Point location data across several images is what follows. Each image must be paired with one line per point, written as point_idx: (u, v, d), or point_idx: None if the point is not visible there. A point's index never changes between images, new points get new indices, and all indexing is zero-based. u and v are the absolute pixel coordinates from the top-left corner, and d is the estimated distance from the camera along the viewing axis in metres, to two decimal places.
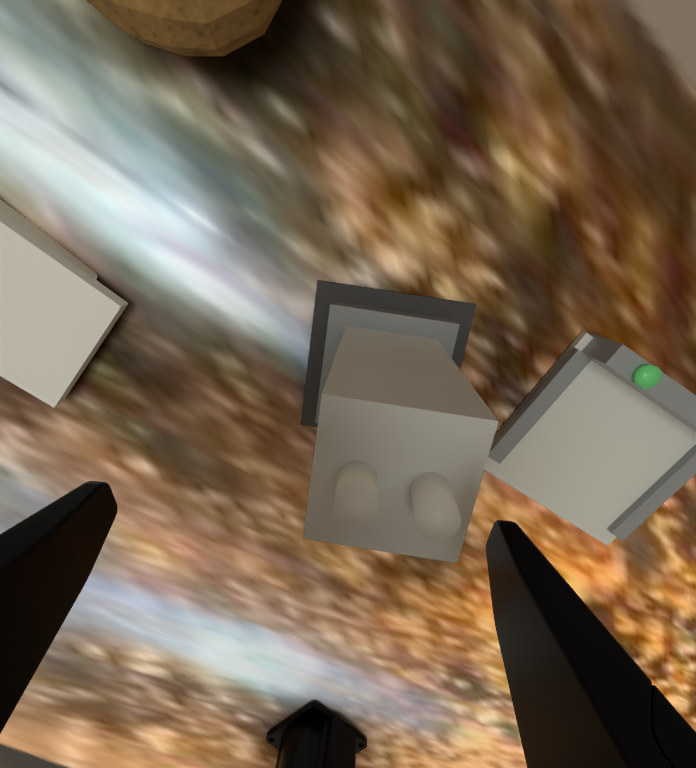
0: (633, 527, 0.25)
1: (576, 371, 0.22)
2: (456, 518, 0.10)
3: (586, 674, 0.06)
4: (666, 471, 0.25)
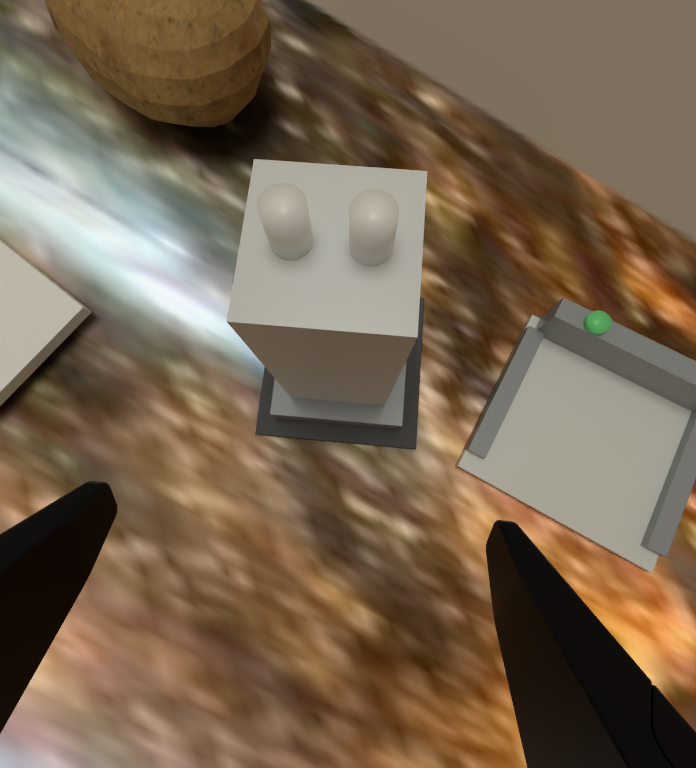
0: (670, 533, 0.20)
1: (534, 346, 0.22)
2: (393, 205, 0.09)
3: (586, 674, 0.06)
4: (673, 457, 0.21)
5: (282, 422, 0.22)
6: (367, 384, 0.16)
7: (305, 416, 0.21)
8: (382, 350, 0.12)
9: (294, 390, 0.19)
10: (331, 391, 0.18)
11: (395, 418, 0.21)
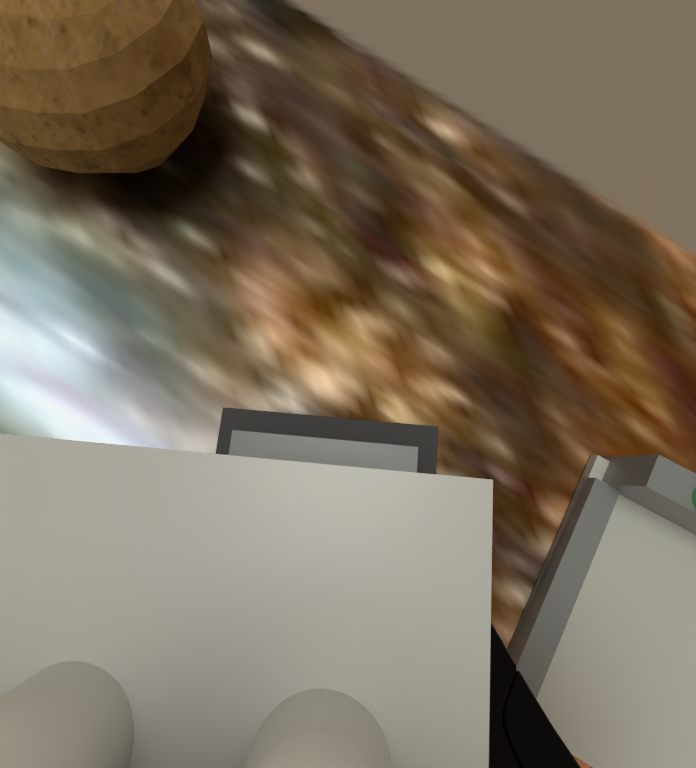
0: None
1: (605, 512, 0.15)
2: None
3: None
4: None
5: None
6: None
7: None
8: None
9: None
10: None
11: None
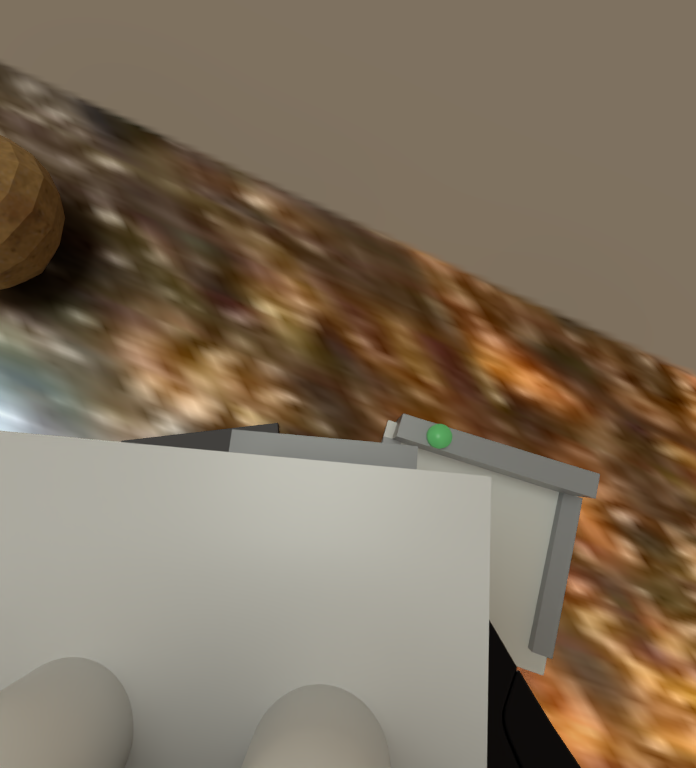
0: (552, 633, 0.20)
1: None
2: None
3: None
4: (547, 545, 0.21)
5: None
6: None
7: None
8: None
9: None
10: None
11: None
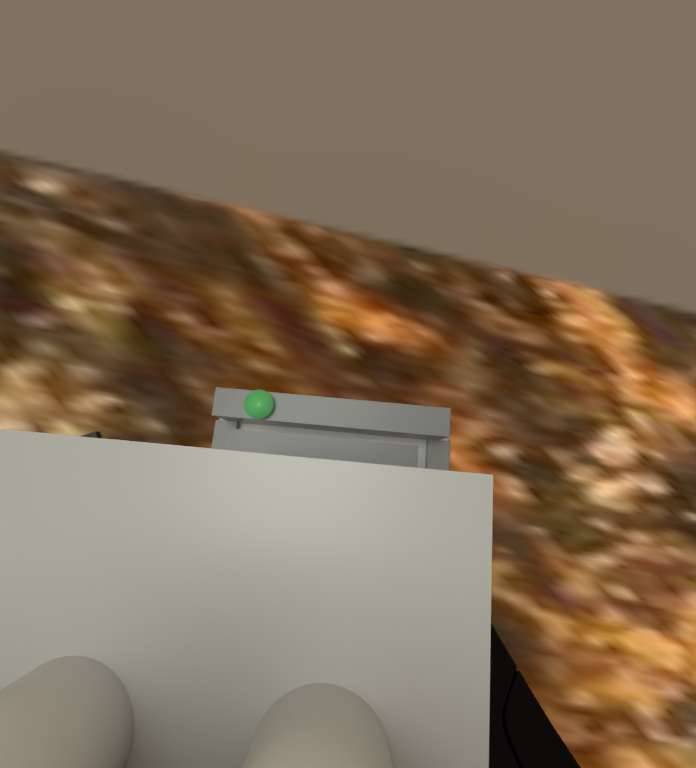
0: None
1: (228, 442, 0.18)
2: None
3: None
4: None
5: None
6: None
7: None
8: None
9: None
10: None
11: None
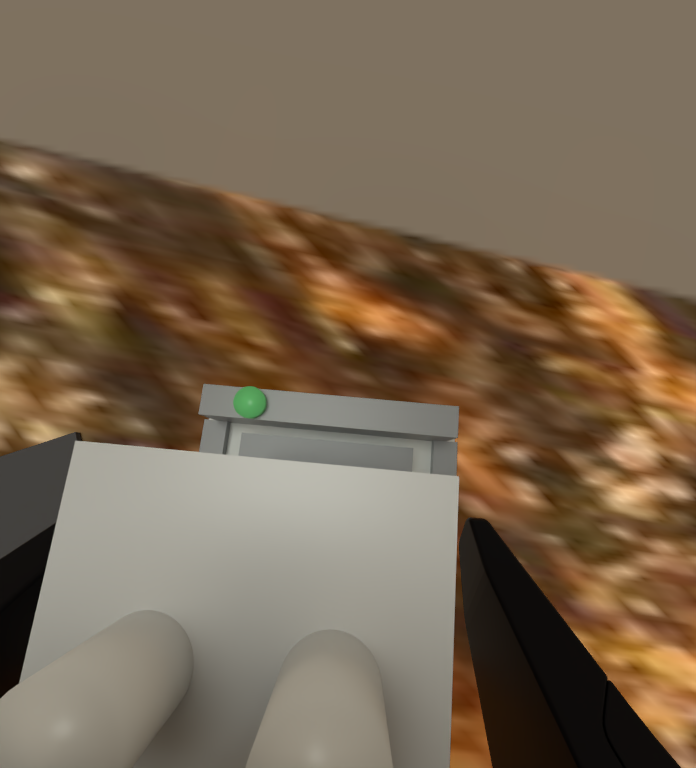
0: None
1: (218, 444, 0.17)
2: (375, 766, 0.03)
3: (542, 669, 0.06)
4: None
5: None
6: None
7: None
8: None
9: None
10: None
11: None
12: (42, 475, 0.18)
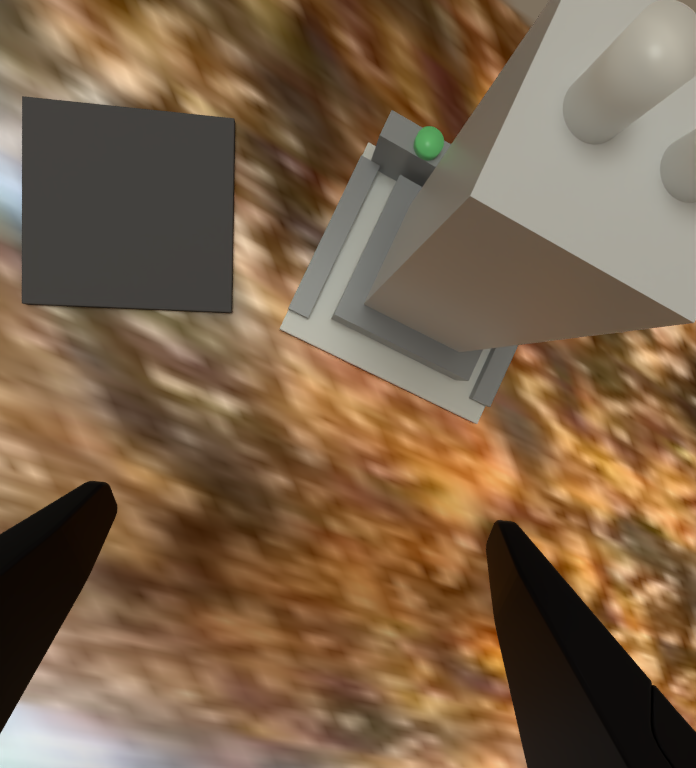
0: (495, 384, 0.20)
1: (366, 182, 0.19)
2: None
3: (586, 674, 0.06)
4: None
5: (57, 287, 0.18)
6: (489, 331, 0.14)
7: (372, 331, 0.18)
8: (603, 314, 0.09)
9: (383, 300, 0.16)
10: (427, 319, 0.16)
11: (465, 370, 0.19)
12: (195, 145, 0.18)
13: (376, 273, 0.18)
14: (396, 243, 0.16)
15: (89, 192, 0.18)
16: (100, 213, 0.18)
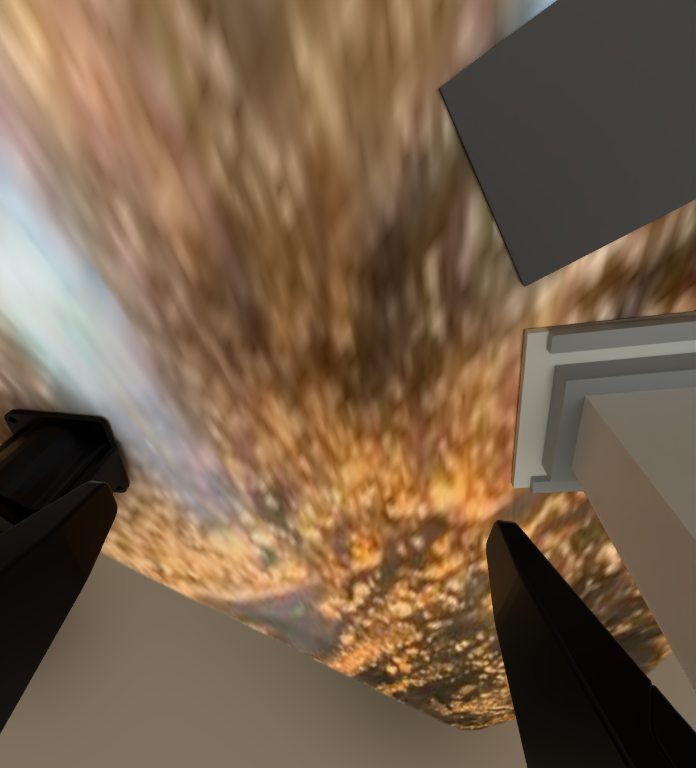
0: (551, 490, 0.25)
1: None
2: None
3: (586, 674, 0.06)
4: None
5: (474, 113, 0.15)
6: (618, 529, 0.18)
7: (562, 411, 0.20)
8: (685, 650, 0.14)
9: (603, 430, 0.18)
10: (601, 467, 0.19)
11: (558, 477, 0.23)
12: None
13: (618, 391, 0.19)
14: (660, 416, 0.18)
15: (602, 71, 0.14)
16: (580, 101, 0.15)
